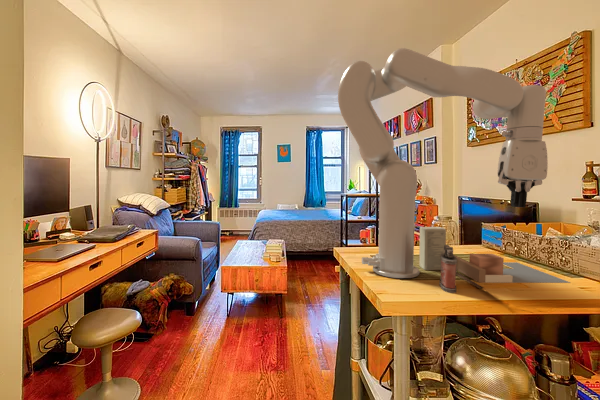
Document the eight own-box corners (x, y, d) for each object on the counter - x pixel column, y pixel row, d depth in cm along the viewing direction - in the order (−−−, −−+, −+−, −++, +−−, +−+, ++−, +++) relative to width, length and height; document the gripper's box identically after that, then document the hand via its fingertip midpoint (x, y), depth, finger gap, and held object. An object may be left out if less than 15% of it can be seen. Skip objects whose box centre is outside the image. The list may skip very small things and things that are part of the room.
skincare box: (438, 266, 91) (440, 226, 90) (445, 270, 87) (447, 228, 86) (418, 266, 91) (419, 226, 90) (424, 270, 87) (425, 228, 86)
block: (478, 277, 75) (479, 258, 75) (469, 272, 80) (469, 253, 80) (502, 277, 75) (503, 258, 75) (491, 272, 80) (492, 253, 79)
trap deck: (478, 288, 72) (479, 270, 72) (443, 267, 90) (443, 252, 90) (570, 288, 72) (571, 270, 71) (516, 267, 90) (517, 252, 89)
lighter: (458, 293, 69) (460, 250, 68) (442, 292, 70) (443, 249, 69) (452, 282, 76) (453, 243, 76) (437, 281, 77) (438, 242, 77)
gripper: (504, 133, 73) (498, 207, 75) (565, 135, 73) (558, 209, 74) (485, 137, 81) (480, 204, 82) (541, 139, 81) (535, 206, 82)
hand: (517, 206), depth 78 cm, fingers closed
